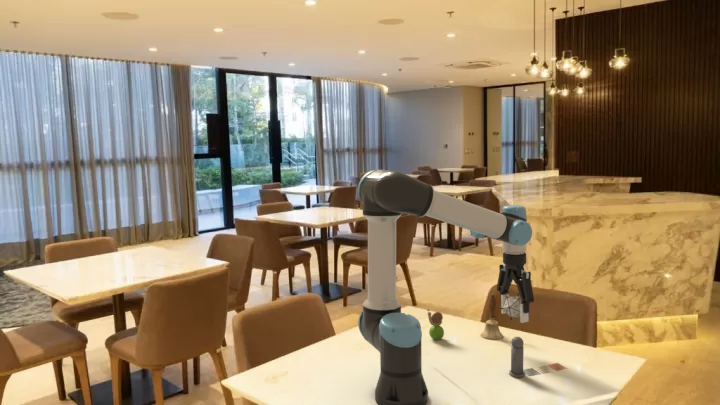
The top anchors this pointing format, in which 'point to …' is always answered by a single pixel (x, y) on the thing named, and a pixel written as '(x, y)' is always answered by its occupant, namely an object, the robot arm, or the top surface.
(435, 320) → the snail figurine
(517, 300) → the game die
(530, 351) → the top surface
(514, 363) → the pawn
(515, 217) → the robot arm
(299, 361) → the top surface
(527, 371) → the track
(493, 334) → the hand bell
